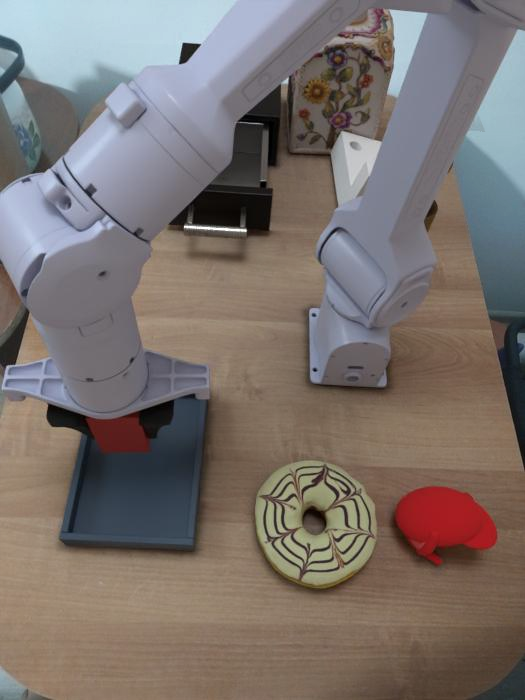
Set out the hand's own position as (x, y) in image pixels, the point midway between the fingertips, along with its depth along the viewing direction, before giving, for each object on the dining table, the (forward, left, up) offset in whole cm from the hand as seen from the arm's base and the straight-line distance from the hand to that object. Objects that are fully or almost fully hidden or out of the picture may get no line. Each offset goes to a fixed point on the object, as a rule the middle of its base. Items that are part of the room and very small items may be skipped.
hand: (126, 428), depth 48 cm
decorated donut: (-6, -17, -6) cm, 19 cm away
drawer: (+33, -6, -5) cm, 34 cm away
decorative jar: (+50, -20, -6) cm, 54 cm away
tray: (-1, -1, -6) cm, 6 cm away
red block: (0, 0, -1) cm, 1 cm away
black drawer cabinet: (+49, -6, -6) cm, 50 cm away
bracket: (+38, -25, -6) cm, 46 cm away
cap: (-6, -28, -6) cm, 29 cm away
